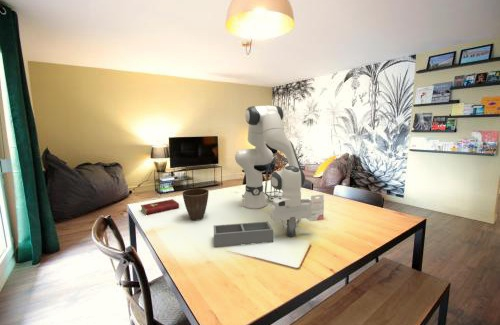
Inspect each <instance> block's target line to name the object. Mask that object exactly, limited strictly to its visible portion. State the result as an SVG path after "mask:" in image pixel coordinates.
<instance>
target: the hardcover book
mask: <svg viewBox="0 0 500 325" xmlns="http://www.w3.org/2000/svg"><path fill="white" fill-rule="evenodd" d="M140 208H141V211H142V213H144V214H145V216H146V215H147V216H150V215H151V216H152V215H155V214H160V213H164V212H168V211H172V210H173V211H174V210H178V209H180V204H179V202H178V201H175V200H174V199H173V198H172V199H168V200H166V199H165V200H161V201H156V202H150V203H146V204H145V203H144V204H141V205H140Z"/></svg>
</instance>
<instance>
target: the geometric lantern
mask: <svg viewBox="0 0 500 325" xmlns="http://www.w3.org/2000/svg"><path fill="white" fill-rule="evenodd" d="M287 164H288V161H287V158H286V156H285V157H284V156H283V155H281V154H280V153H278V152H275V153H273V160H272V162H271V163H269V164H265V166H266V167H267V169H266V172H265V181H268V178H269V176H268V175H269V173H271V174H273V173H274V172H276V171H280V170H283V169H284V167H286V166H287ZM271 165H273V166H274V167H275V170H273V169H272V167H271ZM278 167H279V169H278ZM267 187H268V182H265V185H264V193H265V196H266V197H267V200H268V201H270V202H272V203H273V199H274V198H277V197H279V196H280V195H279V194H283V192H281V190H276V189H275V188H273V186H272V185H271V184H270V191H267V189H268V188H267ZM272 188H273V191H272ZM272 193H273V195H272ZM276 193H278V194H276Z"/></svg>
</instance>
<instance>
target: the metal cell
mask: <svg viewBox="0 0 500 325" xmlns="http://www.w3.org/2000/svg"><path fill="white" fill-rule="evenodd" d="M296 222H297V219H295V217H290V219H289V220H286V224H287V228H286V233H285V234H286V237H288V238H295V237H296V233H297V232H296V229H297V227H296Z"/></svg>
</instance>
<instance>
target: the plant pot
mask: <svg viewBox="0 0 500 325" xmlns="http://www.w3.org/2000/svg"><path fill="white" fill-rule="evenodd" d="M209 191H210V190H208V189H206V188H192V189H191V188H190V189H186V190H184V191H182V199H183V202H184V206H185V209H186V212H187V214H188V216H189V218H190V220H192V221H200V220H203V219H204V216H205V214H206V209H207V206H208V201H209V200H208V199H209Z"/></svg>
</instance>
